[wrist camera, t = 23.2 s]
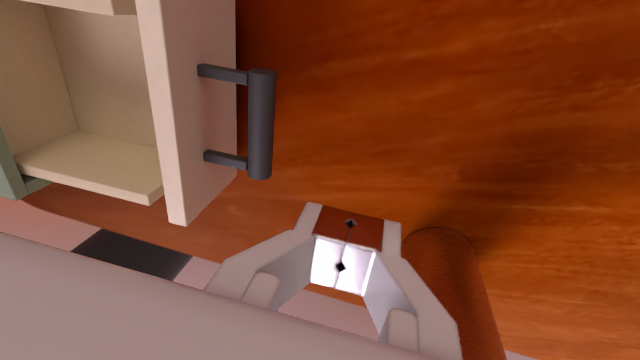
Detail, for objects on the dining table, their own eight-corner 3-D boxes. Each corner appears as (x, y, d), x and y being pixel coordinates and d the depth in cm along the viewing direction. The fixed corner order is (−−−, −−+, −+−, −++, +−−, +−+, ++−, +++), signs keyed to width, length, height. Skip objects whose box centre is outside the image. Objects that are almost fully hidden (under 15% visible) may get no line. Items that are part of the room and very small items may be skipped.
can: (459, 288, 26) (498, 472, 16) (392, 271, 27) (387, 435, 16) (486, 237, 23) (554, 420, 13) (409, 219, 24) (417, 378, 14)
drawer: (304, 1, 18) (257, -2, 12) (288, 187, 24) (252, 244, 18) (39, -38, 20) (-111, -57, 14) (87, 140, 26) (-2, 178, 20)
